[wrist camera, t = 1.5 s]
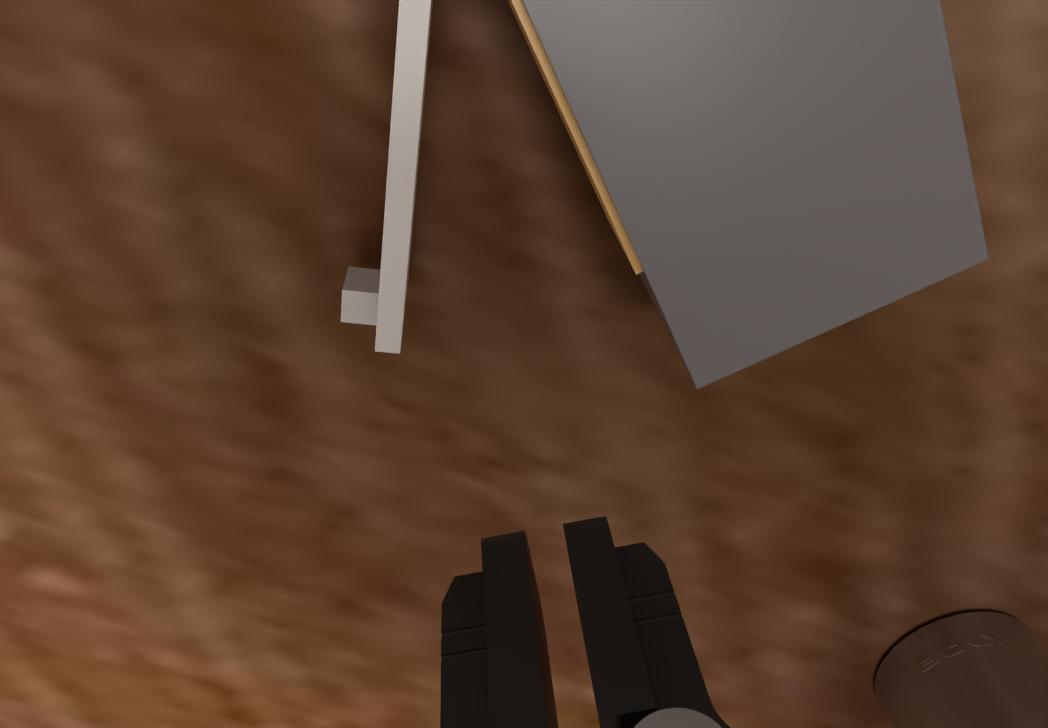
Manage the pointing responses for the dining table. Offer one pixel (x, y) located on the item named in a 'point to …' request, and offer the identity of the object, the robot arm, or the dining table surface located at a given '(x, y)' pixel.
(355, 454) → the dining table surface
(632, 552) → the robot arm
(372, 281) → the side door
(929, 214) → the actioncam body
